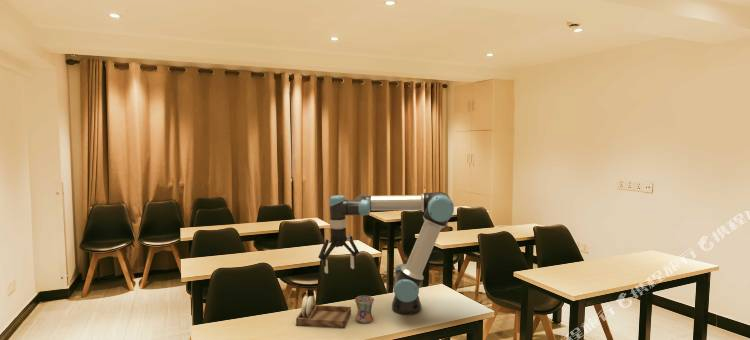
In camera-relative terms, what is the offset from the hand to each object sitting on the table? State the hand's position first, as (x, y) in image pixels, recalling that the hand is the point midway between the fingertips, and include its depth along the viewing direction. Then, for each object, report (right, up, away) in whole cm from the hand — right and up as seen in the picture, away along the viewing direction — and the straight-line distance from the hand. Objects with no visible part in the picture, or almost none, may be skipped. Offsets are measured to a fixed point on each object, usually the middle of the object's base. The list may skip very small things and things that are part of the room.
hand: (339, 270), depth 216 cm
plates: (-16, -22, 0) cm, 27 cm away
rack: (-7, -24, -1) cm, 25 cm away
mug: (+12, -24, 0) cm, 27 cm away
